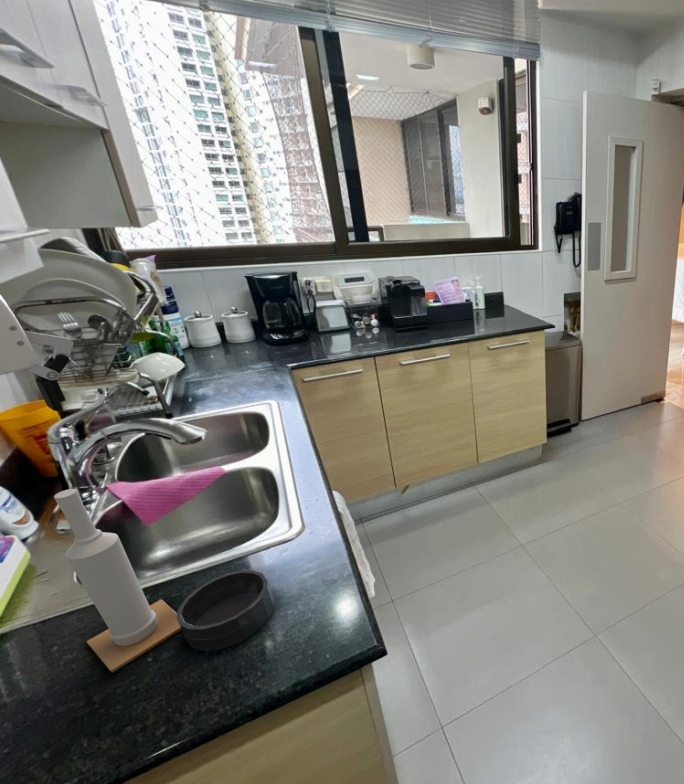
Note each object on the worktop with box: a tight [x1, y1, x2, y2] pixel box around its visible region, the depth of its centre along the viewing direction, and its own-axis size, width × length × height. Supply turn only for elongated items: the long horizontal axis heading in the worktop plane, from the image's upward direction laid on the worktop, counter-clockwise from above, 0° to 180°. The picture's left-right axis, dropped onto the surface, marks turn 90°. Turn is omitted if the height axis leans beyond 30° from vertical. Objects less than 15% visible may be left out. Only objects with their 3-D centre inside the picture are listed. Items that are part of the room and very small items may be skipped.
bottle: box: [53, 488, 158, 646], centre depth 65 cm, size 5×5×25 cm
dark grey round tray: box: [176, 569, 276, 652], centre depth 72 cm, size 11×11×4 cm
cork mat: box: [86, 599, 182, 673], centre depth 70 cm, size 9×9×1 cm
